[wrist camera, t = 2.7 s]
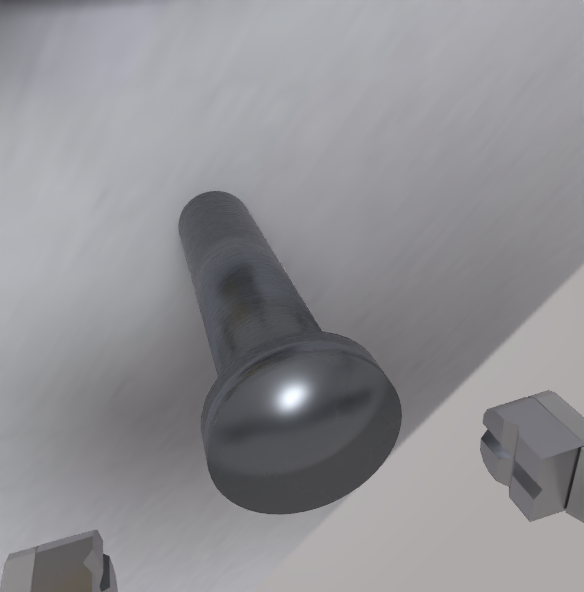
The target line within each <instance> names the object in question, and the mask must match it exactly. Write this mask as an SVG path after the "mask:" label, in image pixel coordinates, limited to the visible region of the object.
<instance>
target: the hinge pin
mask: <svg viewBox="0 0 584 592" xmlns="http://www.w3.org/2000/svg"><path fill="white" fill-rule="evenodd" d="M179 234H180V237H181V241H182V245H183V248H184V252H185V256H186V259H187V263H188V267H189V270H190V274H191V278H192V281H193V285H194V289H195V292H196V296H197V300H198V303H199V307H200V311H201V314H202V318H203V322H204V326H205V329H206V333H207V337H208V340H209V344H210V348H211V351H212V355H213V359H214V362H215V366H216V370H217V373H218V379H217V380H216V382H215V383H214V385H213V386H212V388H211V390H210V392H209V393H208V395H207V398H206V400H205V403H204V406H203V410H202V415H201V432H202V439H203V444H204V449H205V454H206V459H207V464H208V469H209V472H210V475H211V478H212V480H213V482H214V484H215V485H216V487H217V488H218V490H219V491H220V492H221V493H222V494H223V495H224V496H225V497H226V498H227V499H229V500H230V501H231V502H233V503H235V504H236V505H238V506H240V507H243V508H245V509H248V510H251V511H255V512H259V513H266V514H292V513H298V512H304V511H308V510H312V509H316V508H319V507H321V506H324V505H327V504H329V503H331V502H334V501H336V500H338V499H340V498H342V497H343V496H345V495H347V494H349V493H350V492H352V491H353V490H355V489H356V488H358V487H359V486H360V485H362V484H363V483H364V482H365V481H367V480H368V479H369V478H370V477H371V476H372V475H373V474H374V473H375V472H376V471H377V470H378V469H379V467H380V466H381V465H382V464H383V463H384V461H385V460H386V458H387V457H388V455H389V454H390V452H391V450H392V448H393V447H394V445H395V442H396V440H397V437H398V434H399V430H400V426H401V417H402V415H401V405H400V400H399V397H398V395H397V392H396V390H395V388H394V387H393V385H392V384H391V382H390V381H389V380H388V378H387V377H386V375H385V374H384V373H383V371H382V370H381V368H380V367H379V365H378V364H377V363H376V361H375V360H374V358H373V357H372V356H371V354H370V353H369V352H368V351H367V350H366V349H365V348H363V347H362V346H361V345H359V344H358V343H356V342H355V341H353V340H351V339H349V338H347V337H344V336H341V335H338V334H333V333H328V332H322V331H321V329H320V328H319V326H318V324H317V323H316V321H315V319H314V318H313V316H312V315H311V313H310V311H309V310H308V308H307V306H306V305H305V303H304V302H303V300H302V298H301V297H300V295H299V293H298V292H297V290H296V288H295V287H294V285H293V284H292V282H291V280H290V279H289V277H288V275H287V274H286V272H285V271H284V269H283V267H282V266H281V264H280V262H279V261H278V259H277V257H276V256H275V254H274V253H273V251H272V249H271V248H270V246H269V244H268V243H267V241H266V240H265V238H264V236H263V235H262V233H261V231H260V230H259V228H258V226H257V225H256V223H255V222H254V220H253V218H252V217H251V215H250V213H249V212H248V210H247V209H246V207H245V206H244V204H243V203H242V202H241V201H240V200H239V199H238V198H236V197H235V196H233V195H231V194H229V193H225V192H220V191H212V192H206V193H203V194H201V195H198V196H197V197H195V198H194V199H192V200H191V201H190V202H189V203H188V204H187V205H186V206H185V208H184V209H183V211H182V213H181V216H180V219H179Z"/></svg>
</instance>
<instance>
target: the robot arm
mask: <svg viewBox="0 0 584 592" xmlns="http://www.w3.org/2000/svg"><path fill="white" fill-rule="evenodd" d="M483 424H484V425H485V426H486V428H487V429H488V430H487V431H486V432H485V434H484V435H483V437H482V438H481V448H480V451H481V454H482V458H483V462H484V464H485V466H486V467H487V469H488V471H489V473H490V474H491V475H492V476H493V478H494V479H495V480H496V481H498V482H500V483H502V484H504V485H507V486H509V497H510V499H511V500H512V501H513V502H514V503H515V505H516V506H517V507H518V508H519V509H520V511H521V512H522V513H523V514H524V515H525V516H526V518H527V519H528V520H529V521H530V522H531V521H534V520H537V519H540V518H543V517H546V516H550V515H552V514H556V513H559V512H562V511H565V510H566V513H568V514H569V515H571V516H573V517H575V518H576V519H578V520H580V521H582V522H584V417H583V416H582V415H581V414H579V413H578V412H577V411H576V410H575V409H574V408H572V407H571V406H570V405H569V404H568V403H566V401H564V400H563V399H562V398H561V397H560V396H559V395H557V394H556V393H554V392H552V391H549V390H548V391H545V392H541V393H539V394H535V395H532V396H529V397H524V398H521V399H518V400H515V401H512V402H509V403H505V404H502V405H499V406H496V407H493V408H490V409H487V411H486V412H485V414H484V417H483ZM0 592H118V588H117V581H116V575H115V571H114V568H113V564H112V562H111V559H110V557H109V556H108V555H105V554H103V540H102V538H101V536H100V534H99V532H98V530H92V531H89V532H85V533H82V534H78V535H74V536H71V537H67V538H64V539H60V540H56V541H53V542H49V543H46V544H42V545H39V546H36V547H33V548H29V549H26V550H22V551H19V552H15V553H12V554H9V556H8V558H7V560H6V562H5V564H4V569H3V575H2V581H1V586H0Z"/></svg>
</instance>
